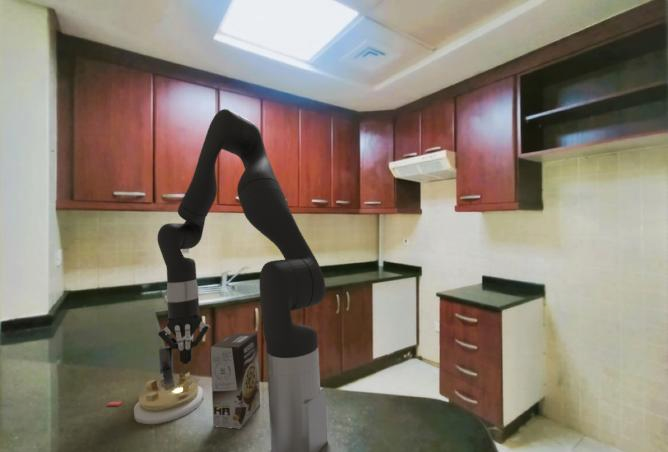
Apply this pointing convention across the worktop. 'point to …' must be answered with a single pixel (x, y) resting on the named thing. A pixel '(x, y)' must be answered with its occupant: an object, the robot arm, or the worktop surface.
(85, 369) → the worktop surface
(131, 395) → the worktop surface
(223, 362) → the coffee box
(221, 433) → the worktop surface
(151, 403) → the gold oval piece
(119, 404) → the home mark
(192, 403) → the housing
